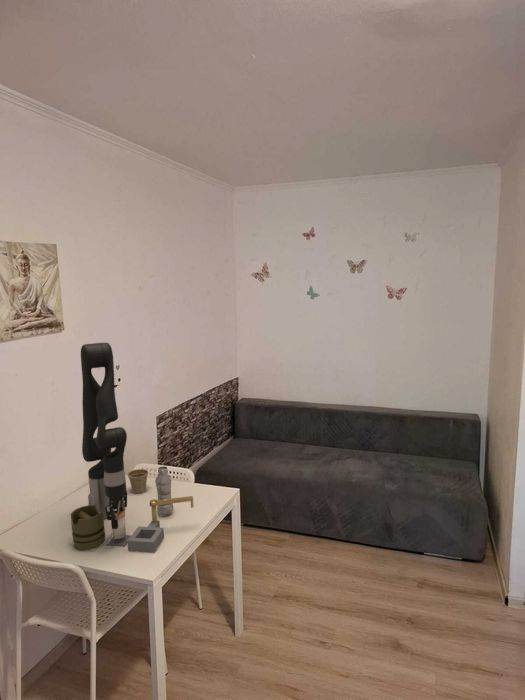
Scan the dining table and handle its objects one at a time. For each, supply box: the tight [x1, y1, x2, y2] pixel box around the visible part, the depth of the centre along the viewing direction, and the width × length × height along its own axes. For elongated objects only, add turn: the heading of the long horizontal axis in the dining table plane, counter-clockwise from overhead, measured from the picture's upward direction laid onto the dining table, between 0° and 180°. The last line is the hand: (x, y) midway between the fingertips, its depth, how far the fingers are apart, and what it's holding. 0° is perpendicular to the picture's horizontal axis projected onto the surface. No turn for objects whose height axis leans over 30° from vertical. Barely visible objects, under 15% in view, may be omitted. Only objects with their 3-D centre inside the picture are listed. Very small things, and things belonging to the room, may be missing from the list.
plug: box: [111, 511, 127, 539], centre depth 180 cm, size 5×5×9 cm
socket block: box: [126, 506, 165, 553], centre depth 180 cm, size 10×15×11 cm, turn 171°
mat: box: [106, 534, 132, 547], centre depth 181 cm, size 7×7×1 cm
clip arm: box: [149, 495, 194, 509], centre depth 187 cm, size 3×16×4 cm, turn 101°
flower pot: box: [126, 468, 149, 494], centre depth 223 cm, size 9×9×9 cm
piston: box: [70, 504, 106, 552], centre depth 180 cm, size 11×12×11 cm
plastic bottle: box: [154, 465, 174, 516], centre depth 200 cm, size 6×7×20 cm
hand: (118, 524), depth 180 cm, fingers closed on plug, 5 cm apart
